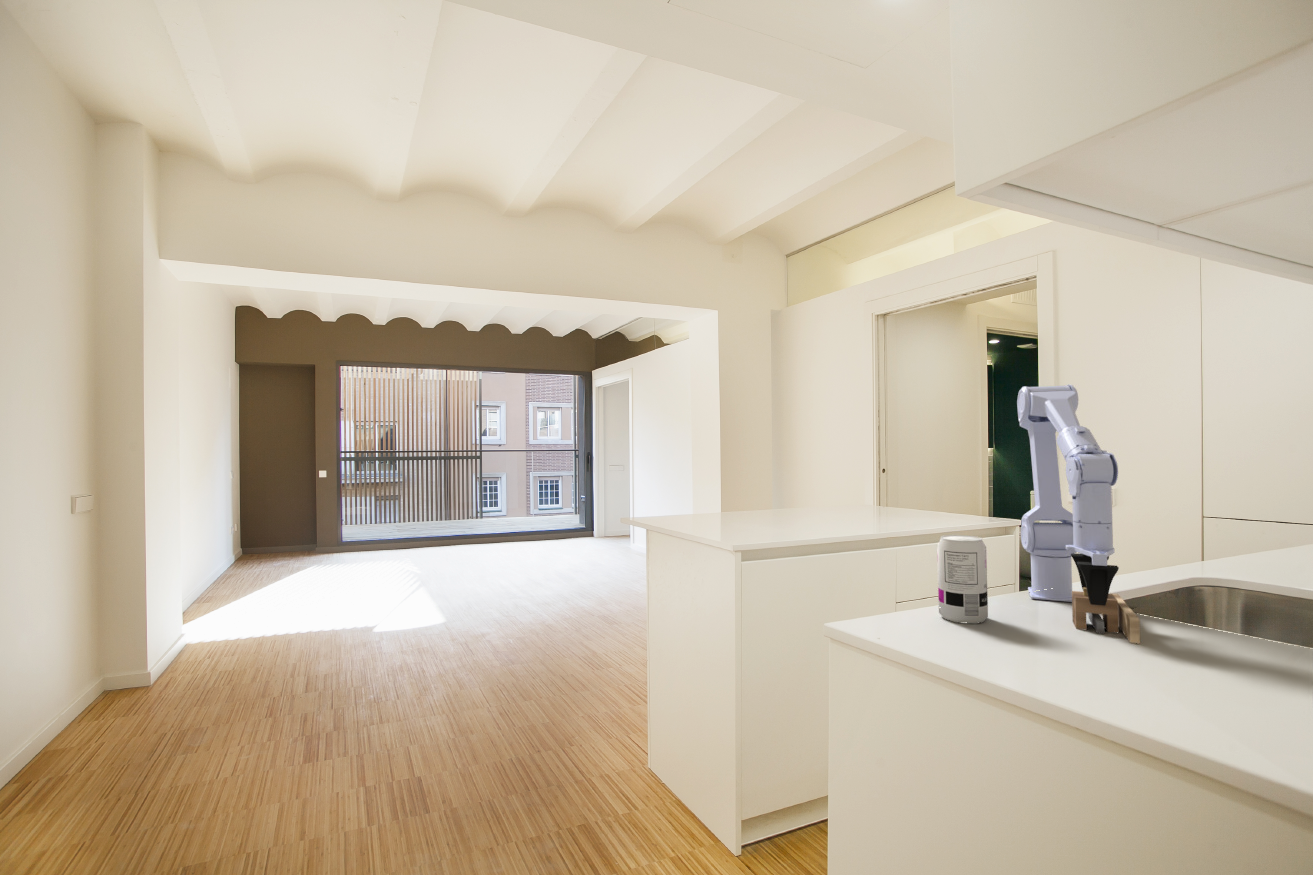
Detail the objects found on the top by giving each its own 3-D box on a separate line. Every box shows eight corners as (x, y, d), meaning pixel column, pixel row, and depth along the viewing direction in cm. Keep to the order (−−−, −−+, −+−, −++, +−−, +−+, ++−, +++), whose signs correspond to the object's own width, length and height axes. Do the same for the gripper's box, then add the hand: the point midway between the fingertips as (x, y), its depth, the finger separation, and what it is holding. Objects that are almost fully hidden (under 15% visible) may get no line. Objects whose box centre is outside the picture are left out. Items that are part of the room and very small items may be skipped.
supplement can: (929, 614, 119) (927, 536, 119) (964, 610, 122) (962, 533, 122) (962, 626, 112) (959, 542, 112) (998, 621, 114) (996, 539, 114)
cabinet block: (1072, 621, 113) (1071, 584, 113) (1113, 625, 111) (1112, 587, 111) (1076, 628, 109) (1075, 590, 109) (1118, 633, 106) (1117, 593, 106)
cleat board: (1085, 612, 119) (1084, 591, 119) (1118, 615, 116) (1117, 593, 116) (1101, 639, 103) (1100, 615, 103) (1139, 643, 100) (1139, 618, 100)
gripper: (1060, 516, 118) (1062, 587, 118) (1070, 526, 105) (1072, 607, 105) (1106, 517, 115) (1108, 591, 115) (1121, 528, 102) (1123, 611, 102)
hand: (1094, 599), depth 110 cm, fingers open, 7 cm apart
